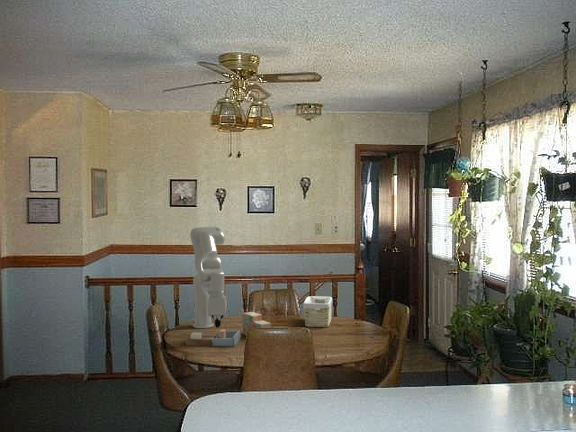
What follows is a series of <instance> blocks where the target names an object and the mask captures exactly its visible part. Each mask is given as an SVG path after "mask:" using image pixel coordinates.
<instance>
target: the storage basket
mask: <svg viewBox="0 0 576 432" xmlns="http://www.w3.org/2000/svg"><path fill="white" fill-rule="evenodd" d="M316 301H321V302H323V301H324V303H318V302H317V303H316ZM332 306H333V298H332V296H325V295H323V296H319V295H316V296H315V295H314V296H313V295H312V296H310V295H309V296H307V297H305V300H304V301H303V312H304V313H303V314H304V325H305V327H311V328H312V327H313V328H314V327H316V328H317V327H318V328H321V327H322V328H326V327H328V328H329V326H330V324H331V321H332V311H333V310H332Z"/></svg>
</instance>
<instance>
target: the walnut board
mask: <svg viewBox="0 0 576 432" xmlns="http://www.w3.org/2000/svg"><path fill="white" fill-rule="evenodd" d="M218 335H219V332H202V338H201V339H191V334H190V335H189V336H188V337H187V338H185V341H184V342H185V346H201V347H202V346H207V347H213V346H212V338H216V337H217V336H218Z"/></svg>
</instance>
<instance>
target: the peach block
mask: <svg viewBox="0 0 576 432" xmlns="http://www.w3.org/2000/svg"><path fill="white" fill-rule="evenodd" d="M226 331H227V330H226V329H225V328H224V329H222V328H221V329H220V330H219V331H218V335H219V339H226Z"/></svg>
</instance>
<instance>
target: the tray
mask: <svg viewBox="0 0 576 432" xmlns="http://www.w3.org/2000/svg"><path fill="white" fill-rule="evenodd" d="M240 340H242V330H241V328H240V329H239V330H226V339H219V334H218V336H217V337H216V338H212V346H211V347H225V348H226V347H228V348H231V347H232V348H233V347H236V346H237V345H238V343H239V342H240Z"/></svg>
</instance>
